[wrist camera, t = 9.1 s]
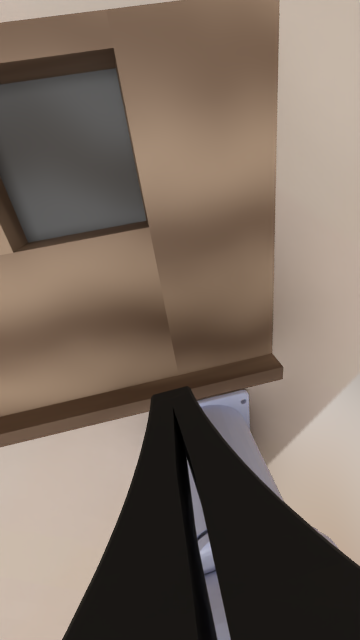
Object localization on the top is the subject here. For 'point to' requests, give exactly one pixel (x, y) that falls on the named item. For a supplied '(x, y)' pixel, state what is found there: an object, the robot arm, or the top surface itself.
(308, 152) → the top surface
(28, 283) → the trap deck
